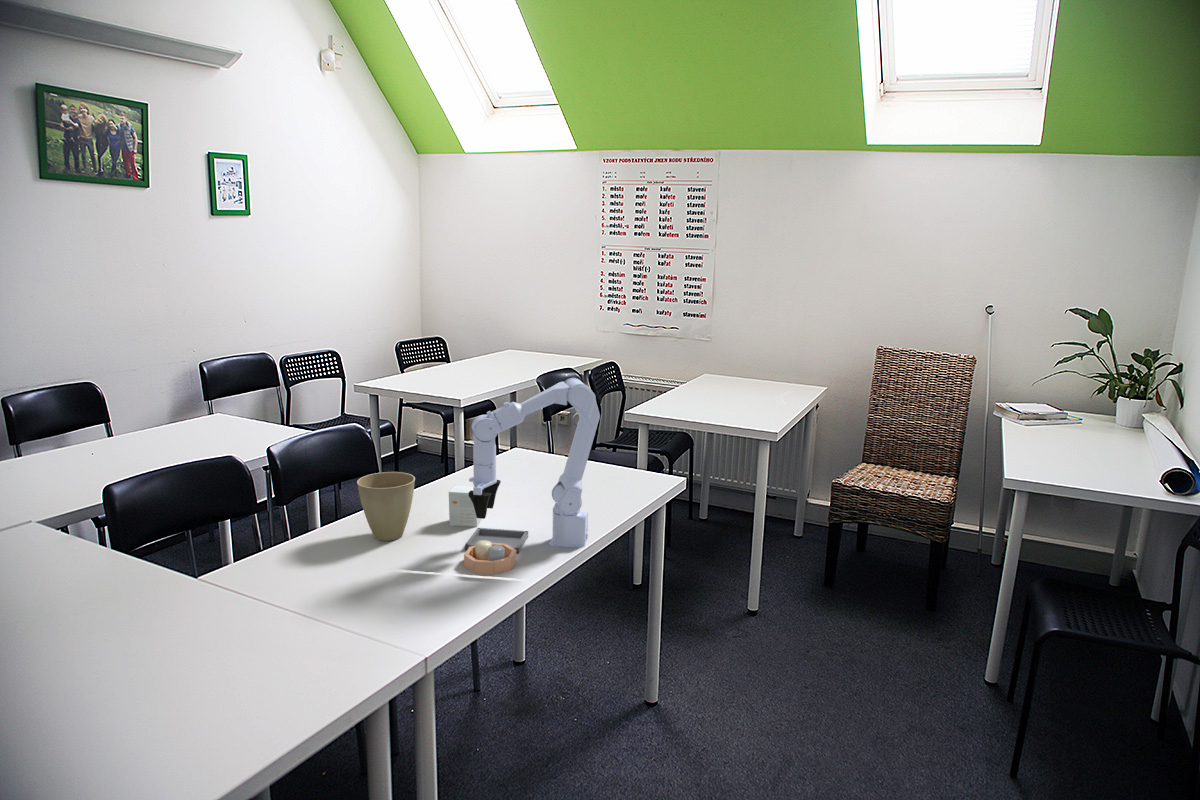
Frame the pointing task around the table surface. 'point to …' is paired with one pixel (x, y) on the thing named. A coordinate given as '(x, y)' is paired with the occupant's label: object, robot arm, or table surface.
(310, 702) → the table surface
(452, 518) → the small box
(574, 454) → the robot arm
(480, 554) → the pebble sand
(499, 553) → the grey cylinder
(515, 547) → the tray
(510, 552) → the bowl
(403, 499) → the plant pot
